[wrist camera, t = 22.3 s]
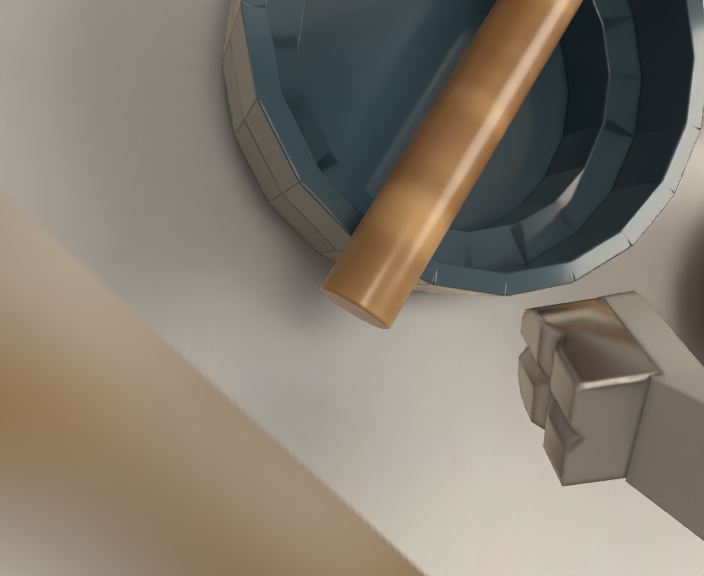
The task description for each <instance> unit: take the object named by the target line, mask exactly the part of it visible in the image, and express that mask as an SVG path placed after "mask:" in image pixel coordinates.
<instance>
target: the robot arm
mask: <svg viewBox="0 0 704 576" xmlns="http://www.w3.org/2000/svg"><path fill="white" fill-rule="evenodd" d="M521 334H522V336H523V338H524V340H525V342H526V343H527V345H528V347H527V348H526V349H525V350H524V351H523V353H522V354H521V355H520V356H519V364H518V378H519V385H520V392H521V396H522V399H523V402H524V406H525V408H526V411H527V413H528V415H529V417H530V420H531V422H533V423H534V424H536V425H538V426H539V427H541V428H542V429H544V430H545V436H544V445H543V447H544V449H545V451H546V453H547V455H548V458H549V460H550V462H551V464H552V466H553V468H554V470H555V472H556V474H557V476H558V478H559V480H560V482H561V484H562V486H569V485H576V484H583V483H591V482H598V481H605V480H613V479H620V478H626V482H628V483H629V484H630V485H632V486H633V487H634V488H636V489H637V490H638V491H639V492H641V493H642V494H643V495H645V496H646V497H647V498H649V499H650V500H651V501H653V502H654V503H655V504H656V505H658V506H659V507H660V508H662V509H663V510H664V511H666V512H667V513H668V514H670V515H671V516H672V517H673V518H675V519H676V520H677V521H679V522H680V523H681V524H683V525H684V526H685V527H687V528H688V529H689V530H690V531H692V532H693V533H694V534H696V535H697V536H698V537H700V538H701V539H702V540H704V367H703V365H702V364H701V363H700V362H699V361H698V360H697V358H696V357H695V356H694V355H693V354H692V353H691V352H690V350H689V349H688V348H687V347H686V346H685V345H684V343H683V342H682V341H681V340H680V339H679V338H678V336H677V335H676V334H675V333H674V332H673V331H672V329H671V328H670V327H669V326H668V325H667V324H666V323H665V321H664V320H663V319H662V318H661V317H660V316H659V314H658V313H657V312H656V311H655V310H654V309H653V307H652V306H651V305H650V304H649V303H648V302H647V300H646V299H645V298H644V297H643V296H642V295H641V294H639V293H637V292H635V291H630V292H624V293H618V294H612V295H607V296H601V297H597V298H596V299H588V300H581V301H575V302H569V303H562V304H556V305H549V306H543V307H537V308H530V309H525V312H524V315H523V317H522V325H521Z"/></svg>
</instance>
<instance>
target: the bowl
mask: <svg viewBox="0 0 704 576" xmlns="http://www.w3.org/2000/svg"><path fill="white" fill-rule="evenodd" d="M495 2H496V0H231V2H230V9H229V15H228V22H227V29H226V36H225V43H224V50H223V57H222V62H223V64H222V67H223V72H224V78H225V84H226V90H227V95H228V101H229V107H230V113H231V118H232V124H233V130H234V134H235V135H236V136H235V138H236V140H237V142H238V144H239V146H240V148H241V150H242V152H243V154H244V156H245V158H246V160H247V161H248V163H249V165H250V167H251V169H252V171H253V173H254V175H255V177H256V179H257V181H258V183H259V185H260V187H261V189H262V191H263V193H264V195H265V196H266V198H267V200H268V201H269V202H270V204H271V205H272V206H273V207H274V208H275V209H276V210H277V211H278V212H279V213H280V214H281V215H282V216H283V217H284V218H285V219H286V220H287V221H288V223H289V224H290V225H291V226H292V227H293V228H294V229H295V230H296V231H297V232H298V233H299V234H300V235H301V236H302V237H303V238H304V239H305V240H306V241H307V242H308V243H309V244H310V245H311V246H312V247H313V248H314V249H315V250H316V251H317V252H320V254H321V255H323V256H325V257H327V258H329V259H331V260H333V261H334V262H336V261H337V259H338V257H339V256H340V254H341V252H342V251H343V249H344V248H345V246H346V244H347V243H348V241H349V239H350V238H351V236H352V235H353V233H354V231H355V230H356V228H357V226H358V225H359V223H360V222H361V220H362V218H363V217H364V215H365V213H366V212H367V210H368V209H369V207H370V205H371V204H372V202H373V200H374V199H375V197H376V196H377V194H378V192H379V191H380V189H381V187H382V186H383V184H384V182H385V181H386V179H387V178H388V176H389V174H390V173H391V171H392V169H393V168H394V166H395V165H396V163H397V161H398V160H399V158H400V156H401V155H402V153H403V152H404V150H405V148H406V147H407V145H408V143H409V142H410V140H411V139H412V137H413V135H414V134H415V132H416V130H417V129H418V127H419V126H420V124H421V122H422V121H423V119H424V117H425V116H426V114H427V113H428V111H429V109H430V108H431V106H432V104H433V103H434V101H435V100H436V98H437V96H438V95H439V93H440V91H441V90H442V88H443V87H444V85H445V83H446V82H447V80H448V78H449V77H450V75H451V74H452V72H453V70H454V69H455V67H456V65H457V64H458V62H459V61H460V59H461V57H462V56H463V54H464V52H465V51H466V49H467V48H468V46H469V44H470V43H471V41H472V39H473V38H474V36H475V35H476V33H477V31H478V30H479V28H480V26H481V25H482V23H483V22H484V20H485V18H486V17H487V15H488V13H489V12H490V10H491V9H492V7H493V5H494V4H495ZM703 110H704V7H703V0H583V1H582V3H581V5H580V6H579V8H578V10H577V11H576V13H575V15H574V17H573V18H572V20H571V22H570V23H569V25H568V27H567V28H566V30H565V32H564V34H563V35H562V37H561V39H560V40H559V42H558V44H557V45H556V47H555V49H554V51H553V52H552V54H551V56H550V57H549V59H548V61H547V62H546V64H545V66H544V67H543V69H542V71H541V73H540V74H539V76H538V78H537V79H536V81H535V83H534V84H533V86H532V88H531V90H530V91H529V93H528V95H527V96H526V98H525V100H524V101H523V103H522V105H521V107H520V108H519V110H518V112H517V113H516V115H515V117H514V118H513V120H512V122H511V124H510V125H509V127H508V129H507V130H506V132H505V134H504V135H503V137H502V139H501V141H500V142H499V144H498V146H497V147H496V149H495V151H494V152H493V154H492V156H491V157H490V159H489V161H488V163H487V164H486V166H485V168H484V169H483V171H482V173H481V174H480V176H479V178H478V180H477V181H476V183H475V185H474V186H473V188H472V190H471V191H470V193H469V195H468V197H467V198H466V200H465V202H464V203H463V205H462V207H461V208H460V210H459V212H458V214H457V215H456V217H455V219H454V220H453V222H452V224H451V225H450V227H449V229H448V231H447V232H446V234H445V236H444V237H443V239H442V241H441V242H440V244H439V246H438V248H437V249H436V251H435V253H434V254H433V256H432V258H431V259H430V261H429V263H428V264H427V266H426V268H425V270H424V271H423V273H422V275H421V276H420V278H419V280H418V281H417V283H416V285H415V287H414V288H413V290H419V291H426V292H433V293H442V294H463V295H486V296H511V295H516V294H521V293H526V292H531V291H536V290H541V289H546V288H551V287H555V286H560V285H565V284H570V283H573V282H575V281H577V280H579V279H580V278H582V277H584V276H585V275H587V274H588V273H590V272H592V271H593V270H595V269H596V268H598V267H600V266H601V265H603V264H604V263H606V262H608V261H609V260H611V259H613V258H614V257H616V256H617V255H619V254H621V253H622V252H624V251H625V250H627V249H629V248H630V247H632V246H633V245H634V244H635V243H636V241H637V240H638V239H639V238H640V236H641V235H642V234H643V233H644V232H645V230H646V229H647V228H648V227H649V225H650V224H651V223H652V222H653V221H654V219H655V218H656V217H657V216H658V214H659V213H660V212H661V211H662V210H663V208H664V207H665V206H666V205H667V203H668V202H669V201H670V200H671V199H672V197H673V196H674V193H675V192H676V189H677V187H678V184H679V182H680V180H681V177H682V175H683V172H684V170H685V167H686V165H687V162H688V160H689V157H690V155H691V153H692V150H693V148H694V145H695V143H696V140H697V138H698V135H699V133H700V129H701V127H702V118H703Z"/></svg>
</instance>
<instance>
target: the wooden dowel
mask: <svg viewBox="0 0 704 576" xmlns="http://www.w3.org/2000/svg"><path fill="white" fill-rule="evenodd" d="M582 1H583V0H496V2H495V4H494V5H493V7H492V9H491V10H490V12H489V13H488V15H487V17H486V18H485V20H484V22H483V23H482V25H481V26H480V28H479V30H478V31H477V33H476V35H475V36H474V38H473V39H472V41H471V43H470V44H469V46H468V48H467V49H466V51H465V52H464V54H463V56H462V57H461V59H460V61H459V62H458V64H457V65H456V67H455V69H454V70H453V72H452V74H451V75H450V77H449V78H448V80H447V82H446V83H445V85H444V87H443V88H442V90H441V91H440V93H439V95H438V96H437V98H436V100H435V101H434V103H433V104H432V106H431V108H430V109H429V111H428V113H427V114H426V116H425V117H424V119H423V121H422V122H421V124H420V126H419V127H418V129H417V130H416V132H415V134H414V135H413V137H412V139H411V140H410V142H409V143H408V145H407V147H406V148H405V150H404V152H403V153H402V155H401V156H400V158H399V160H398V161H397V163H396V165H395V166H394V168H393V169H392V171H391V173H390V174H389V176H388V178H387V179H386V181H385V182H384V184H383V186H382V187H381V189H380V191H379V192H378V194H377V196H376V197H375V199H374V200H373V202H372V204H371V205H370V207H369V209H368V210H367V212H366V213H365V215H364V217H363V218H362V220H361V222H360V223H359V225H358V226H357V228H356V230H355V231H354V233H353V235H352V236H351V238H350V239H349V241H348V243H347V244H346V246H345V248H344V249H343V251H342V252H341V254H340V256H339V257H338V259H337V261H336V262H335V264H334V265H333V267H332V269H331V270H330V272H329V274H328V275H327V277H326V278H325V280H324V282H323V283H322V285H321V288H320V289H321V291H322V292H323V293H324V294H325V295H326V296H327V297H328V298H329V299H331V300H332V301H333V302H335V303H336V304H338V305H339V306H341V307H342V308H344V309H345V310H347V311H348V312H350V313H352V314H353V315H355V316H357V317H358V318H360V319H362V320H364V321H366V322H368V323H370V324H372V325H374V326H376V327H379V328H381V329H386V330H388V329H389V328H390V327H391V326H392V324H393V322H394V321H395V319H396V317H397V315H398V314H399V312H400V310H401V309H402V307H403V305H404V304H405V302H406V300H407V298H408V297H409V295H410V293H411V292H412V290H413V288H414V287H415V285H416V283H417V281H418V280H419V278H420V276H421V275H422V273H423V271H424V270H425V268H426V266H427V264H428V263H429V261H430V259H431V258H432V256H433V254H434V253H435V251H436V249H437V248H438V246H439V244H440V242H441V241H442V239H443V237H444V236H445V234H446V232H447V231H448V229H449V227H450V225H451V224H452V222H453V220H454V219H455V217H456V215H457V214H458V212H459V210H460V208H461V207H462V205H463V203H464V202H465V200H466V198H467V197H468V195H469V193H470V191H471V190H472V188H473V186H474V185H475V183H476V181H477V180H478V178H479V176H480V174H481V173H482V171H483V169H484V168H485V166H486V164H487V163H488V161H489V159H490V157H491V156H492V154H493V152H494V151H495V149H496V147H497V146H498V144H499V142H500V141H501V139H502V137H503V135H504V134H505V132H506V130H507V129H508V127H509V125H510V124H511V122H512V120H513V118H514V117H515V115H516V113H517V112H518V110H519V108H520V107H521V105H522V103H523V101H524V100H525V98H526V96H527V95H528V93H529V91H530V90H531V88H532V86H533V84H534V83H535V81H536V79H537V78H538V76H539V74H540V73H541V71H542V69H543V67H544V66H545V64H546V62H547V61H548V59H549V57H550V56H551V54H552V52H553V51H554V49H555V47H556V45H557V44H558V42H559V40H560V39H561V37H562V35H563V34H564V32H565V30H566V28H567V27H568V25H569V23H570V22H571V20H572V18H573V17H574V15H575V13H576V11H577V10H578V8H579V6H580V5H581V3H582Z"/></svg>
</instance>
